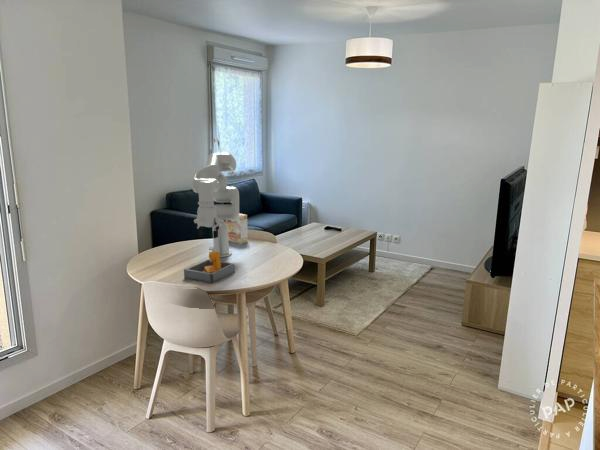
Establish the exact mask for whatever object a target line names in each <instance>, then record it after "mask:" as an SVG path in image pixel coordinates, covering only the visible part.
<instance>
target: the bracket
mask: <svg viewBox="0 0 600 450" xmlns="http://www.w3.org/2000/svg"><path fill="white" fill-rule="evenodd" d="M208 258H209V259H208V260H210V262H213V266H205V267H204V270H205V272H206V273H213V272H215V271H217V270H219V269H221V262H222V261H221V257H220V254H219V251H213V252H212V251H209V253H208ZM220 261H221V262H220Z"/></svg>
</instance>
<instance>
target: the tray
mask: <svg viewBox="0 0 600 450" xmlns="http://www.w3.org/2000/svg"><path fill="white" fill-rule="evenodd" d="M220 262H221V269H219V270H217V271H215V272H213V273H206V272H205V270H204V267H205V266H213V262H210V259H206V260H204V261H201V262H198V263H196V264H193V265H191V266H189V267H186V268H184V269H183V276H184V278H183V279H186V280H190V281H195V282H201V283H206V284H211V285H212V283H213V284H214V282H215V283H216V282H219V281H221V280H223V279H224V278H227V277H228V276H230V275H232V274H235V263H233V262H225V261H221V260H220Z"/></svg>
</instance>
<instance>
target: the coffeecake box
mask: <svg viewBox="0 0 600 450" xmlns="http://www.w3.org/2000/svg"><path fill="white" fill-rule="evenodd" d="M225 223H226V224H227V226H228V236H229V242H232V243H235V244H239V245H243V244H247V243H248V242H249V237H248V236H249V234H248V231H249V230H248V214H245V213H244V214H243V213H240V212H239V218H238V219H237V220H225Z"/></svg>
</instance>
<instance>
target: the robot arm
mask: <svg viewBox="0 0 600 450" xmlns="http://www.w3.org/2000/svg"><path fill="white" fill-rule="evenodd" d="M236 169H237V161H236V158H235V157H234V155H233V154H231V153H229V152H213V153H210V154H209V155H208V156H207V160H206V164H205V167H202V168H200V170H198V171H196V173H195V174H194V175H193V178H192V182H191V189H192V191H193V192H194V193H196V194H198V201H197V204H198V207H197V211H196V218H195V219H194V220H193V222H194V225H195V226H196V229H197V233H198V234H197V235H198V237H201V236H204V228H203V227H205V228H212V245H213V246H210V247H209V248H208V250H209V251H211V252H213V251H219V254H220V258H226V257H230V256H232V251H231V250H230V243H229V242H230V241H229V236H228V226H227V224H226V220H237V219H238V218H239V213H240V192H239V189H238V188H237V187H236V186H228V179H227V177H226V175H225V173H223V172H226V173H227V172H228V173H229V172H234V171H236ZM215 202H216V203H223V204H215ZM224 203H230V204H224Z"/></svg>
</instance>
